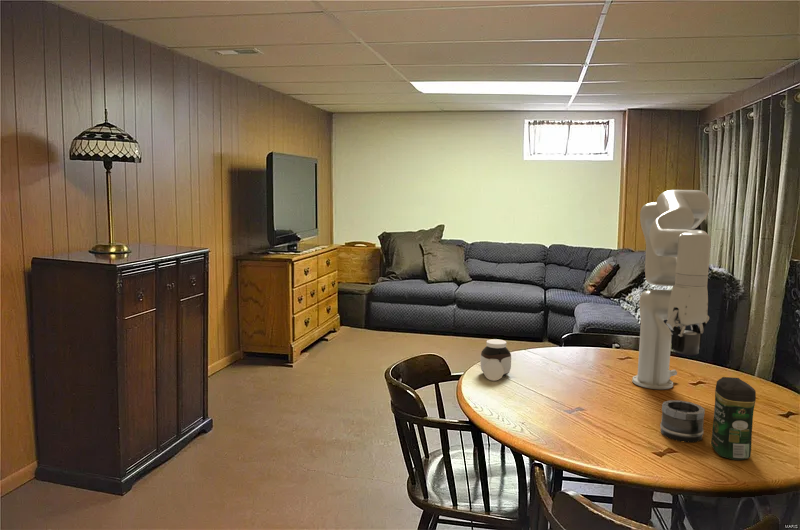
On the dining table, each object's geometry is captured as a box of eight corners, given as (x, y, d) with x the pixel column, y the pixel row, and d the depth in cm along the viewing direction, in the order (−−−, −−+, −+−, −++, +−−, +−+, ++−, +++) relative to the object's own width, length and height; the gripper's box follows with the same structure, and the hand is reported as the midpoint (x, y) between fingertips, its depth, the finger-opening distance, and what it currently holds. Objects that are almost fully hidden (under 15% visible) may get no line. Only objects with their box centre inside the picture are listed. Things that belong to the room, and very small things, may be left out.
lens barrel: (677, 424, 170) (679, 397, 169) (711, 438, 161) (714, 410, 160) (651, 431, 165) (653, 403, 164) (685, 445, 156) (687, 417, 155)
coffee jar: (706, 443, 157) (712, 373, 155) (739, 445, 156) (746, 375, 154) (719, 460, 148) (725, 386, 145) (754, 463, 147) (762, 388, 144)
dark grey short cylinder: (683, 347, 164) (685, 328, 163) (703, 353, 159) (705, 333, 158) (668, 350, 161) (669, 330, 160) (688, 355, 156) (690, 336, 155)
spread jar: (502, 369, 217) (503, 337, 216) (519, 379, 207) (520, 346, 205) (472, 373, 213) (473, 340, 212) (487, 383, 203) (488, 349, 201)
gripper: (700, 276, 165) (694, 341, 167) (655, 280, 157) (651, 349, 159) (726, 280, 158) (720, 348, 161) (681, 285, 150) (676, 356, 152)
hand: (686, 348), depth 160 cm, fingers closed on dark grey short cylinder, 6 cm apart
